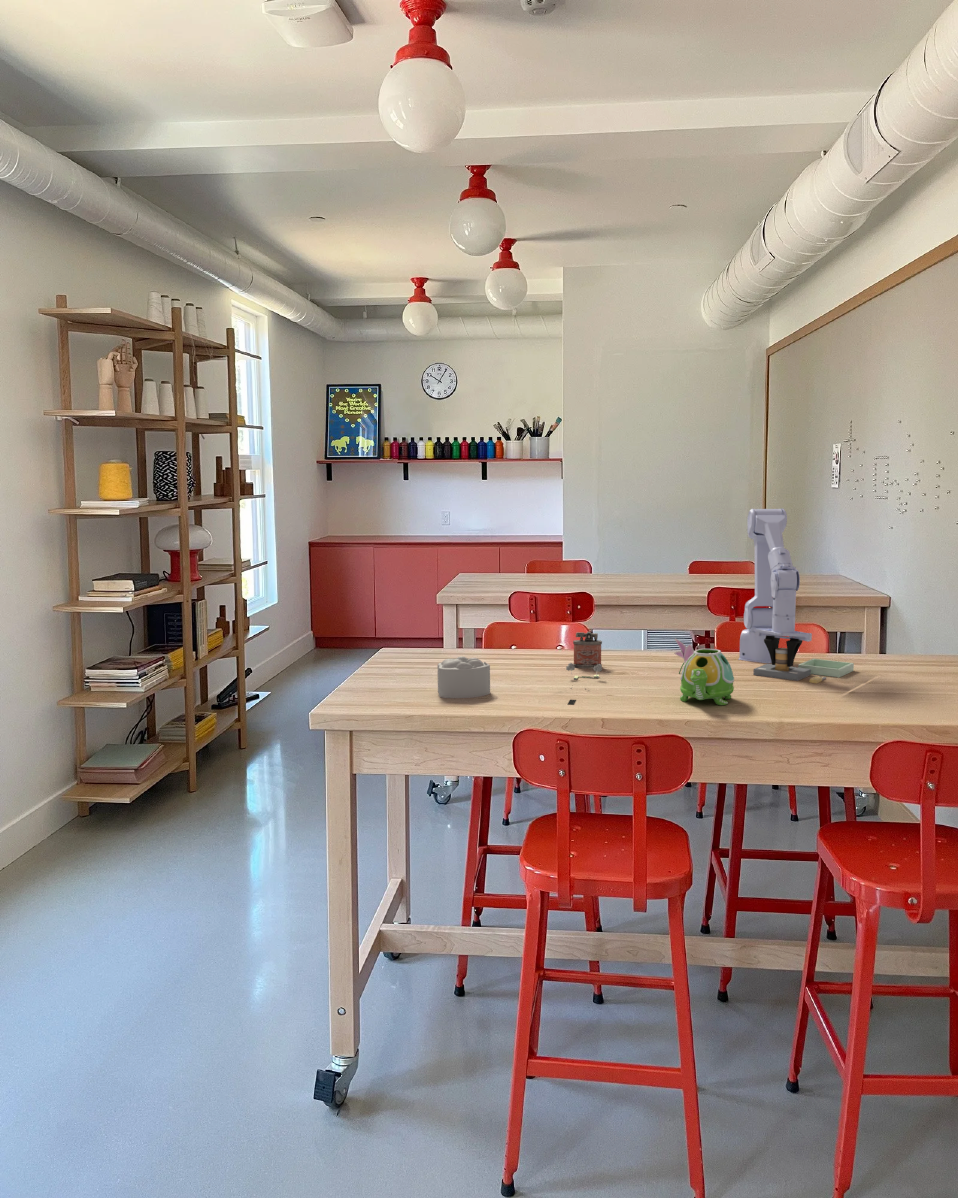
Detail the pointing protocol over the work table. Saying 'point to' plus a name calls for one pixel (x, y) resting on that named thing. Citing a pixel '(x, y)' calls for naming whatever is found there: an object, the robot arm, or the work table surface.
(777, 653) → the fuse
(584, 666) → the lighter
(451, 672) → the lumpy-topped squat cylinder
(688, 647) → the lily
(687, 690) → the turtle holder
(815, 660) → the parts tray
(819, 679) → the puller tool
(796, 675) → the fuse block
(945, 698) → the work table surface
